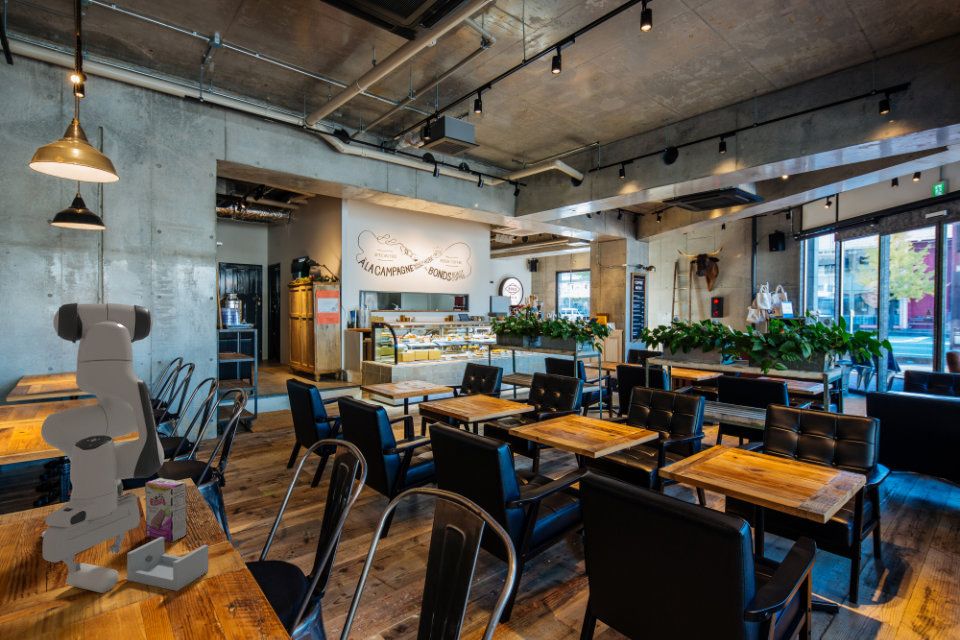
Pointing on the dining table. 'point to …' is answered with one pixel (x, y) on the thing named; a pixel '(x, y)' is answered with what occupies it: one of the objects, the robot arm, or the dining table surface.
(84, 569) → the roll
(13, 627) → the dining table surface
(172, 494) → the candy bar box
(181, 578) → the holder
